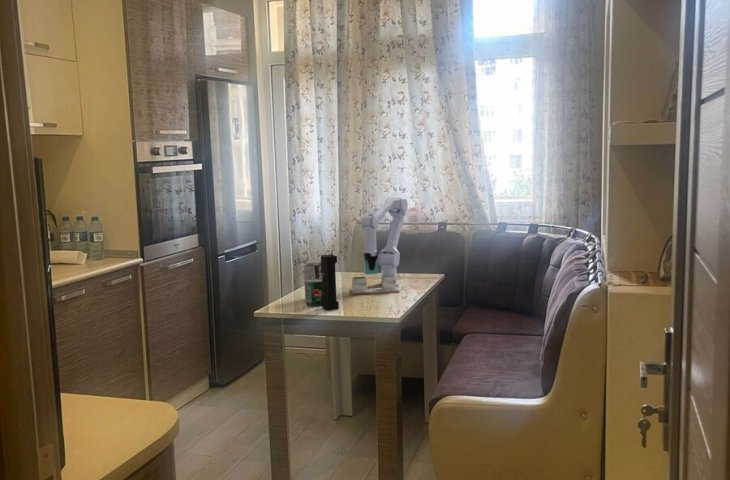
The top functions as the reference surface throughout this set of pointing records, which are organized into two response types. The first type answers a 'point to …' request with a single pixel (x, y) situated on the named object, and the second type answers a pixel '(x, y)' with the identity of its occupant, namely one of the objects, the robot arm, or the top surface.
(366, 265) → the module
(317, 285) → the canned tomato
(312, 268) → the coffee box
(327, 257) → the portable radio
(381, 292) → the board
